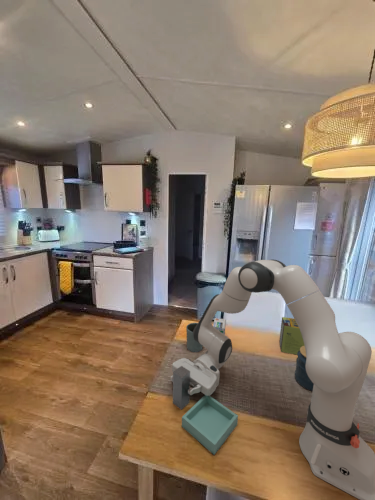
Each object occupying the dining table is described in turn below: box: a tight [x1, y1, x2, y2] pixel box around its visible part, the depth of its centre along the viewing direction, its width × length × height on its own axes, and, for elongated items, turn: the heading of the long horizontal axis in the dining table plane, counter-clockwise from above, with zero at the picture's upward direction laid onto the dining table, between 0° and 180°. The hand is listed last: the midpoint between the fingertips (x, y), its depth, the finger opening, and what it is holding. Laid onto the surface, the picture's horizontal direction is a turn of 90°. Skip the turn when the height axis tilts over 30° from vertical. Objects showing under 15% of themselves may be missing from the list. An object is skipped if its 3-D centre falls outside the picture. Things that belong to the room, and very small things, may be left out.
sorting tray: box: [181, 394, 239, 456], centre depth 82 cm, size 14×14×4 cm
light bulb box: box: [212, 317, 227, 335], centre depth 134 cm, size 11×7×11 cm, turn 168°
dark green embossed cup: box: [185, 322, 204, 353], centre depth 126 cm, size 10×10×12 cm
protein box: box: [278, 316, 305, 356], centre depth 126 cm, size 10×15×16 cm
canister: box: [294, 346, 314, 392], centre depth 103 cm, size 13×13×18 cm
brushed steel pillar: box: [172, 366, 191, 410], centre depth 91 cm, size 5×5×14 cm
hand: (180, 386), depth 90 cm, fingers open, 8 cm apart
